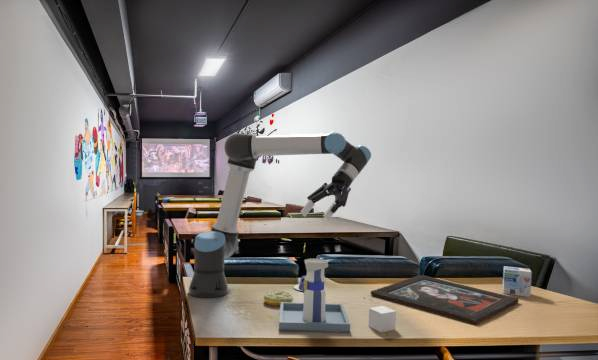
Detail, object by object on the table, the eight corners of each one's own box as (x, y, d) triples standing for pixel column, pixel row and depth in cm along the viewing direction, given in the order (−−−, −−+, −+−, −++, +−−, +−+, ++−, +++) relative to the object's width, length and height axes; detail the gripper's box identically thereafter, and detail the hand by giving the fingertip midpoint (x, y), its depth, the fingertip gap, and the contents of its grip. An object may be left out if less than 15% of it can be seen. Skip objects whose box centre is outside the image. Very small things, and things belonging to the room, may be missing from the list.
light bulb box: (502, 293, 181) (504, 268, 181) (501, 289, 187) (502, 265, 187) (531, 297, 177) (532, 271, 177) (529, 293, 183) (530, 268, 183)
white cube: (381, 332, 131) (381, 313, 131) (368, 326, 137) (369, 308, 136) (395, 329, 135) (396, 311, 134) (382, 323, 140) (383, 305, 140)
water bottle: (304, 323, 135) (307, 245, 134) (298, 314, 143) (301, 241, 143) (329, 322, 137) (332, 245, 136) (322, 313, 145) (324, 241, 144)
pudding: (311, 284, 186) (311, 272, 186) (327, 290, 177) (328, 278, 176) (288, 287, 180) (288, 275, 180) (304, 294, 170) (305, 281, 170)
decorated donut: (298, 303, 158) (298, 293, 158) (277, 309, 150) (277, 299, 150) (279, 296, 165) (279, 287, 165) (258, 302, 158) (258, 292, 158)
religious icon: (417, 279, 200) (417, 273, 200) (519, 304, 168) (519, 297, 168) (367, 295, 172) (367, 288, 172) (477, 329, 140) (478, 320, 140)
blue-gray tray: (278, 330, 130) (279, 322, 130) (280, 309, 150) (280, 302, 150) (350, 332, 130) (350, 324, 130) (342, 311, 150) (342, 303, 150)
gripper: (372, 185, 159) (341, 227, 150) (328, 182, 178) (299, 219, 170) (362, 170, 155) (330, 212, 146) (319, 169, 175) (288, 206, 166)
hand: (313, 216), depth 158 cm, fingers open, 13 cm apart
